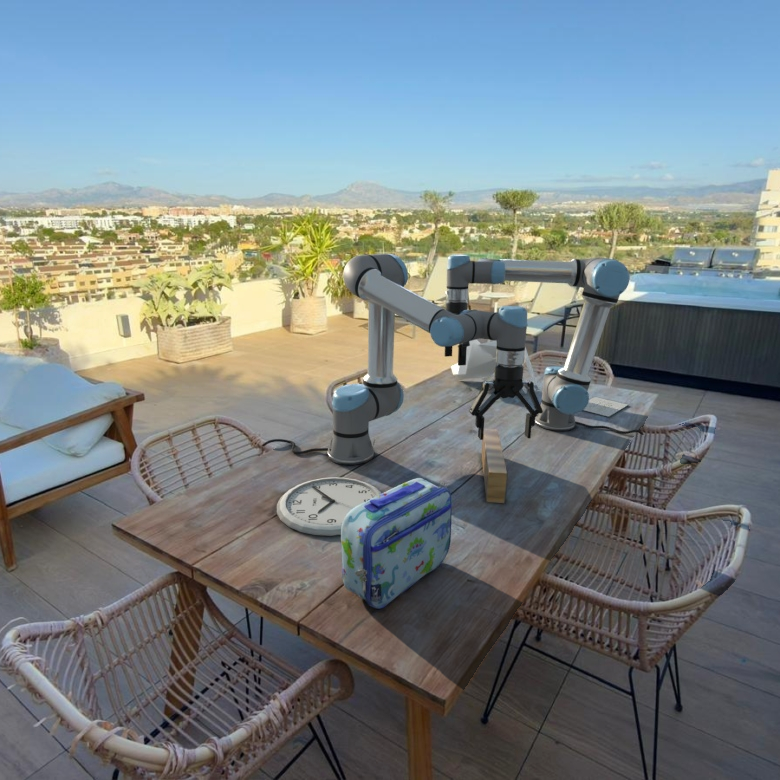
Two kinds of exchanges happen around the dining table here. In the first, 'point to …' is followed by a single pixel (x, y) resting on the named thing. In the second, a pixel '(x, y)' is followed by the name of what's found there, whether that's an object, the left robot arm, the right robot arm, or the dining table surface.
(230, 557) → the dining table surface
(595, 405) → the invitation card
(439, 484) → the fork
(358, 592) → the lunch box
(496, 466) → the bar
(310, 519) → the wall clock
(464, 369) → the white plastic object
